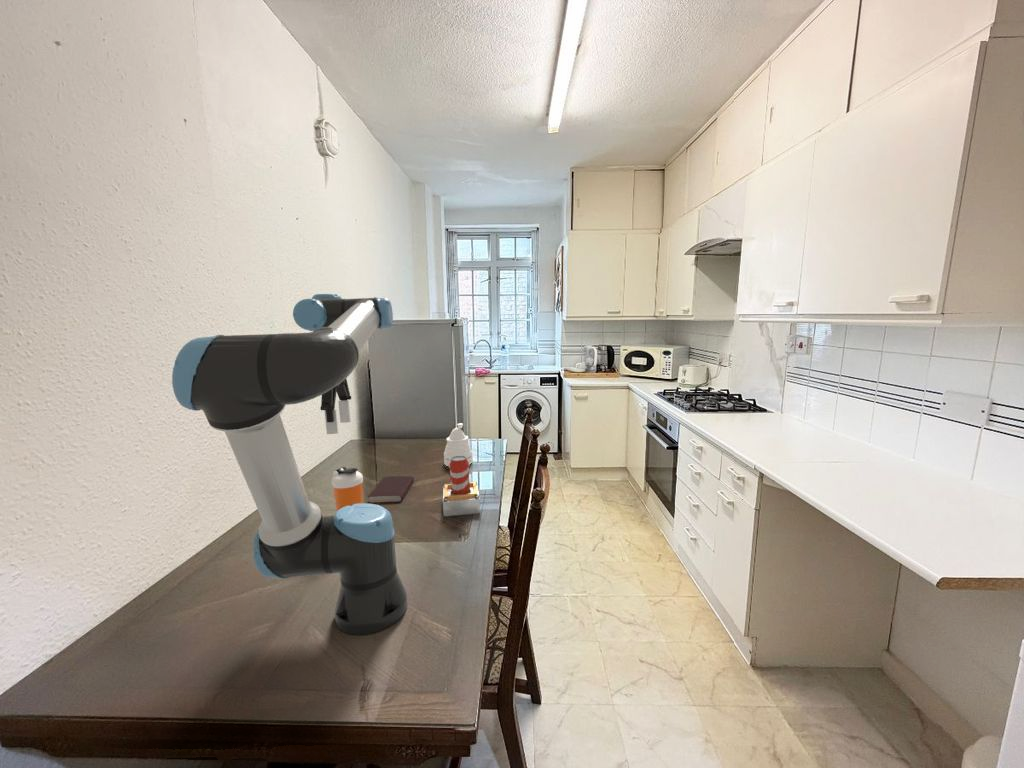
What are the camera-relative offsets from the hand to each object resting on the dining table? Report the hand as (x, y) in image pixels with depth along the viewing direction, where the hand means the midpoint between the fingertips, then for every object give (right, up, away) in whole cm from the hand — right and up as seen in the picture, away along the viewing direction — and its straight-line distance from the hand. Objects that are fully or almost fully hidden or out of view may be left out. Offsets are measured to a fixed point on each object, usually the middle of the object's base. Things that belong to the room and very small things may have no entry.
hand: (339, 427), depth 118 cm
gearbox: (+31, -30, +28) cm, 51 cm away
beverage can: (+31, -25, +27) cm, 48 cm away
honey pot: (+24, -24, +74) cm, 82 cm away
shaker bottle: (-1, -34, +12) cm, 36 cm away
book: (+3, -30, +43) cm, 52 cm away
